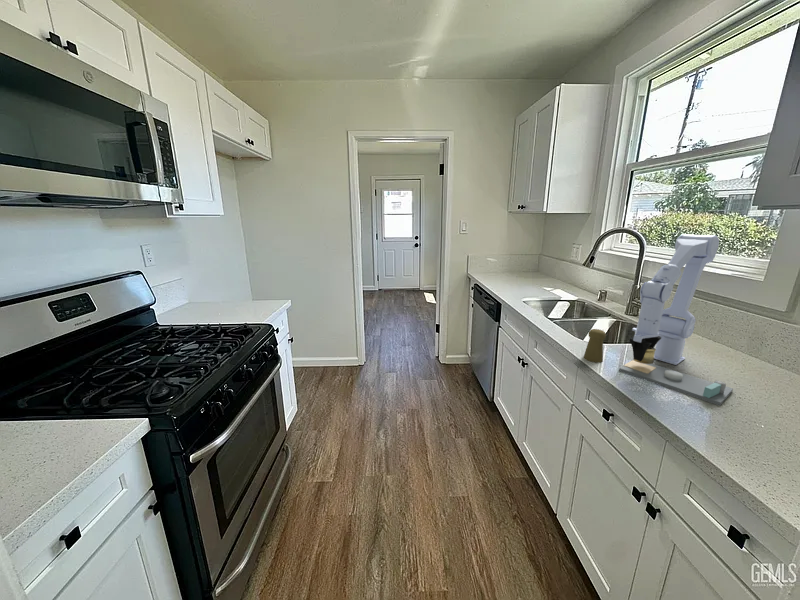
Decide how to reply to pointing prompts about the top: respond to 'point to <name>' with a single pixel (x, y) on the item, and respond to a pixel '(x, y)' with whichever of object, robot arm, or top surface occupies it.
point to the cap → (648, 356)
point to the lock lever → (714, 389)
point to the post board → (674, 380)
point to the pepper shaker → (595, 346)
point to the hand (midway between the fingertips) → (641, 357)
